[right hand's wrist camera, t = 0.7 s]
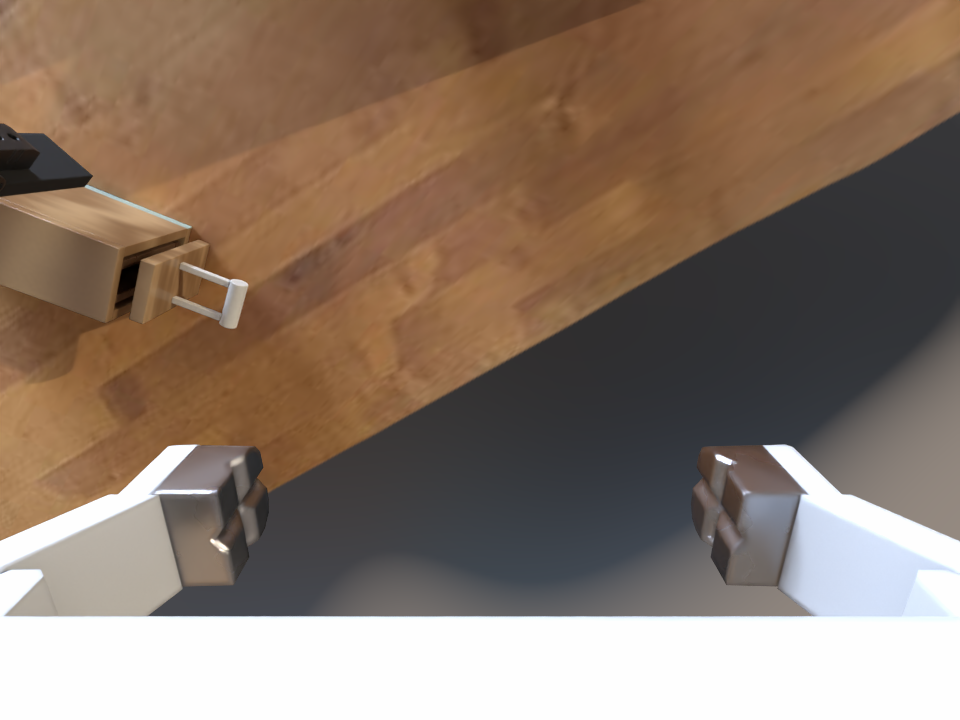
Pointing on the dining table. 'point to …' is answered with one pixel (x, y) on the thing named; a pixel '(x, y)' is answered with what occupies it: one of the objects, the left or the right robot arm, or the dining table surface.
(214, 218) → the dining table surface
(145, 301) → the drawer
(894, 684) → the right robot arm
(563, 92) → the dining table surface
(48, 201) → the wooden box sleeve
